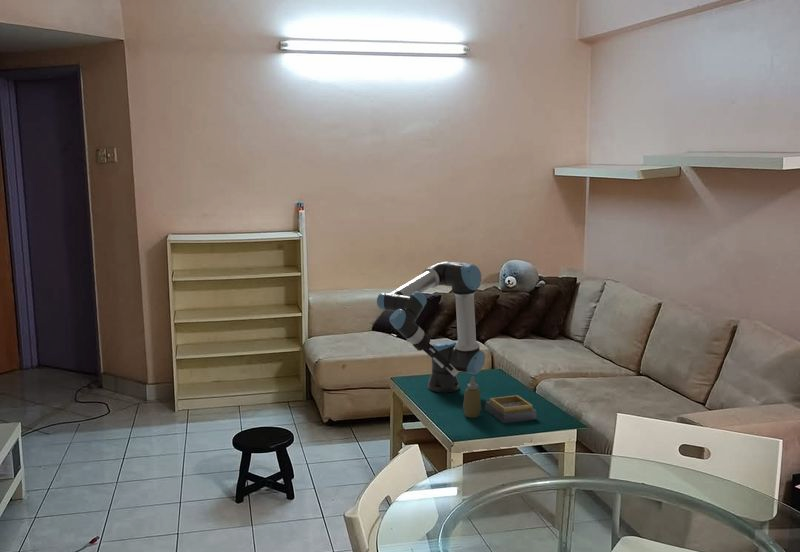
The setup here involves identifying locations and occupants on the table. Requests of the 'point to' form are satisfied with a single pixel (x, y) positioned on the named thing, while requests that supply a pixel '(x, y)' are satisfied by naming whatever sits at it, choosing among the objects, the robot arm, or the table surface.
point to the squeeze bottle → (472, 399)
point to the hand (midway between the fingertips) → (450, 370)
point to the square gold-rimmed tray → (510, 409)
